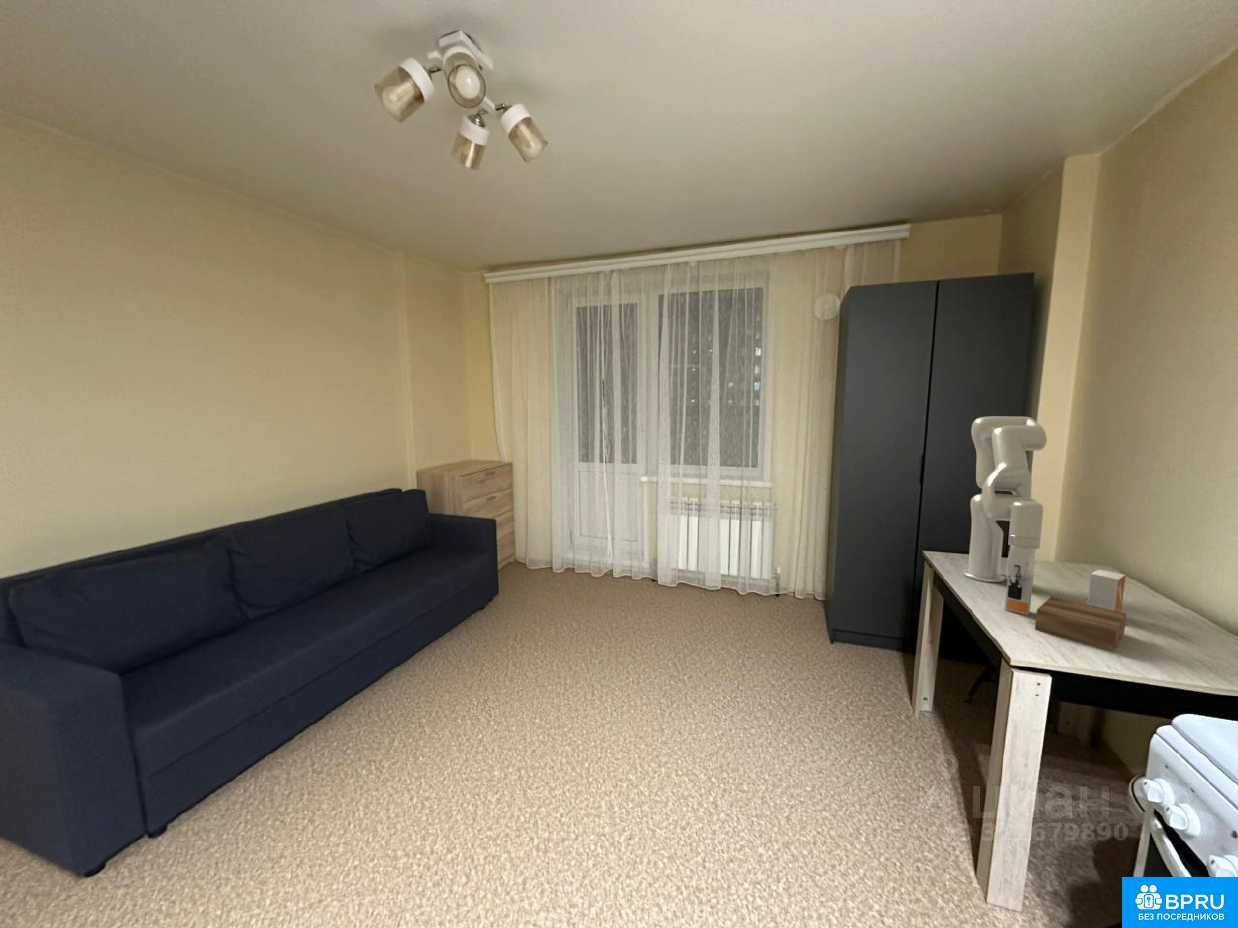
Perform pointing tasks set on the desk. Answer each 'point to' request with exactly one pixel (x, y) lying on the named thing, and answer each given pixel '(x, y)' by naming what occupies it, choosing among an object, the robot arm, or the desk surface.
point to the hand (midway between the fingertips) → (1019, 594)
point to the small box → (1106, 590)
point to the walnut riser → (1081, 622)
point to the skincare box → (1025, 601)
